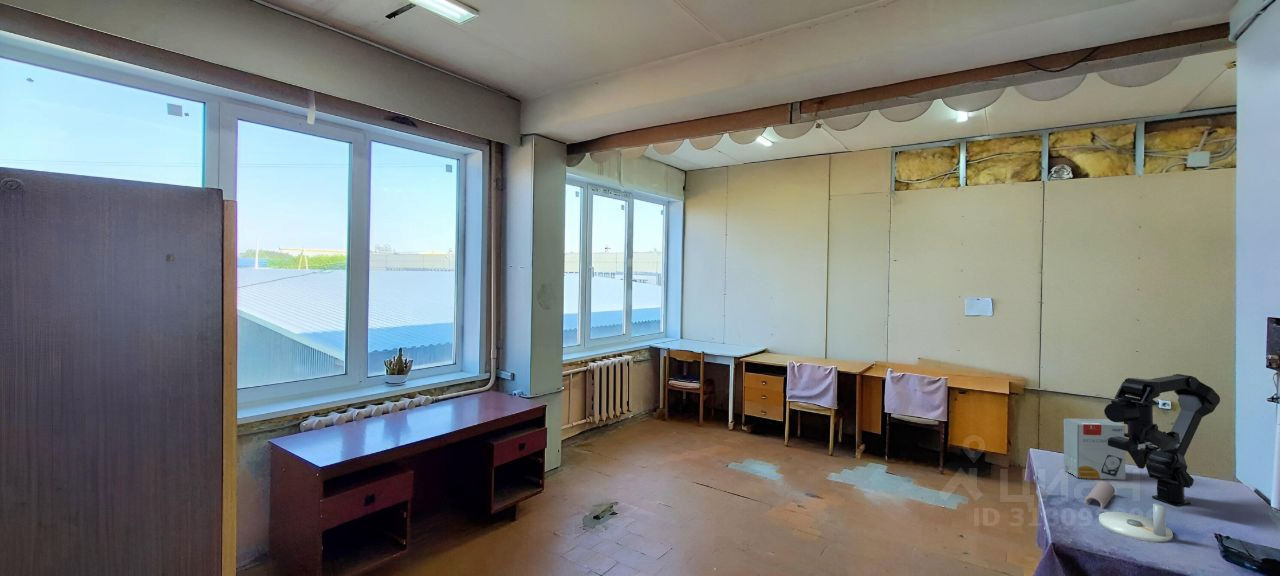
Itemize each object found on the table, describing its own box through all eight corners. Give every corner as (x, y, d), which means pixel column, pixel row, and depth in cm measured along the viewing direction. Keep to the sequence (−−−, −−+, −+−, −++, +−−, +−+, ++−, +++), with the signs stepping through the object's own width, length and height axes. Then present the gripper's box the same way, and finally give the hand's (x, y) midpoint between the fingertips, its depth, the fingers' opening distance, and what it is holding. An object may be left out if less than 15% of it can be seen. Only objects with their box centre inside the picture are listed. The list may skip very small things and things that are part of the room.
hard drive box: (1077, 479, 180) (1076, 424, 180) (1063, 470, 188) (1061, 417, 188) (1127, 480, 178) (1125, 424, 177) (1110, 471, 185) (1109, 418, 185)
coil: (1095, 479, 170) (1082, 495, 159) (1114, 482, 167) (1102, 498, 155) (1097, 493, 170) (1085, 510, 159) (1116, 496, 166) (1104, 514, 155)
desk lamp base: (1125, 512, 153) (1124, 482, 153) (1187, 537, 138) (1187, 504, 138) (1085, 519, 150) (1084, 488, 150) (1144, 545, 135) (1144, 511, 135)
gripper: (1147, 429, 149) (1148, 481, 149) (1195, 423, 153) (1196, 474, 153) (1105, 419, 160) (1106, 468, 160) (1151, 413, 163) (1152, 461, 164)
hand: (1141, 468), depth 159 cm, fingers closed
